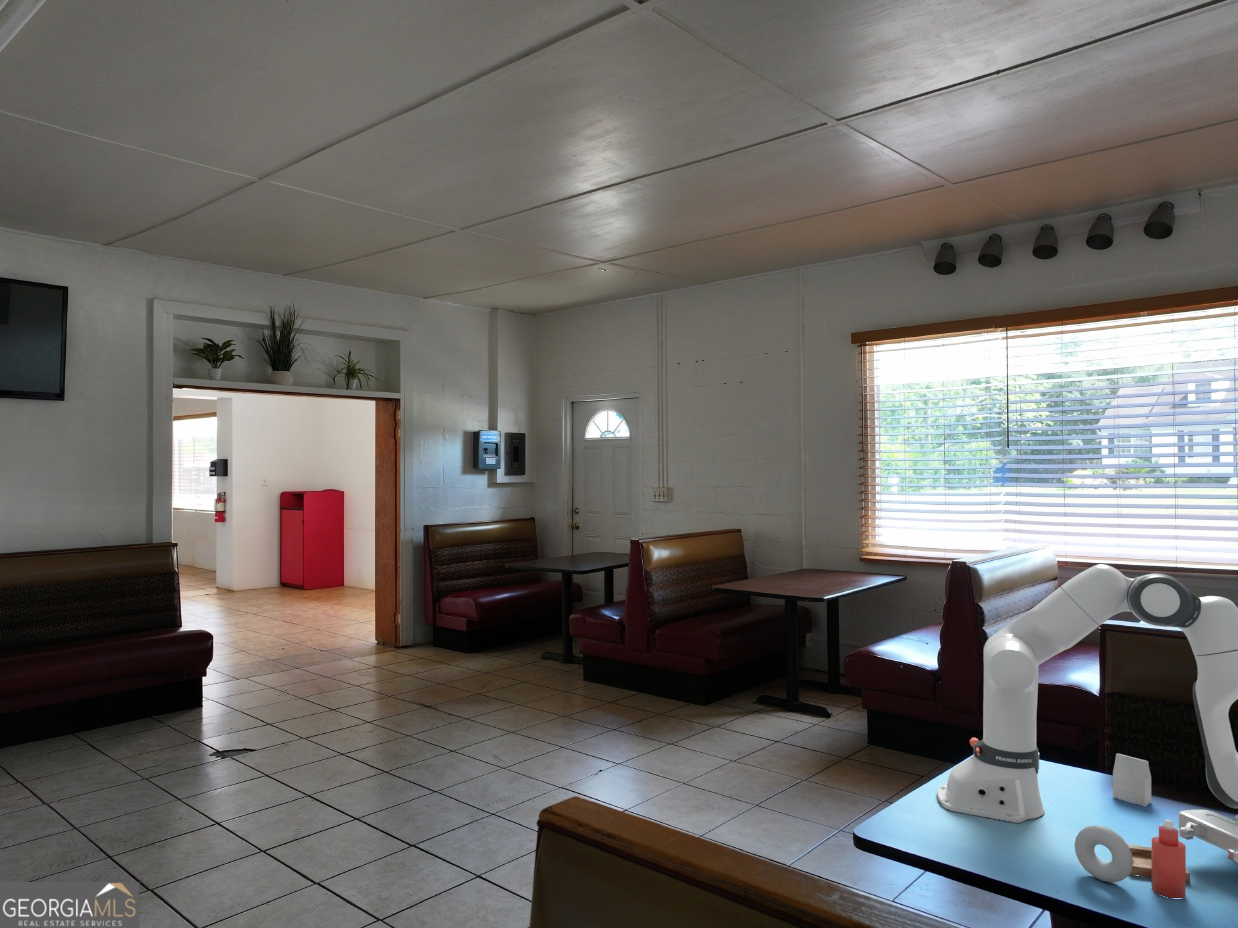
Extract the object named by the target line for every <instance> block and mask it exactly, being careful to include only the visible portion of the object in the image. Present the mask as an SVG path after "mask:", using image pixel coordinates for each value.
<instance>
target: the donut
mask: <svg viewBox="0 0 1238 928" xmlns="http://www.w3.org/2000/svg"><path fill="white" fill-rule="evenodd" d="M1098 845H1101V846H1103V847H1105V848H1107V849H1108V851H1109V852H1110V854H1111V861H1109V862H1104V861H1103V860H1102V859H1100V858H1099V857H1098V855H1097V854H1096V852H1095V848H1096V846H1098ZM1128 845H1129V844H1128V843H1127V841H1125V840H1124V838H1123V837H1122V836H1121V835H1120V834H1118V833H1117V832H1116V831H1115V830H1112V829H1111V828H1109V827H1106V826H1102V825H1097V824H1095V825H1088V826H1085V827H1083V828H1082V829H1081V830H1080V831H1079V832H1078V834H1077V835H1076V837H1075V840H1074V851H1075V855H1076V858H1077V860H1078V863H1080V865H1081V866H1082V867H1083V869H1084V870H1085V871H1086V872H1087V873H1088V874H1090V875H1091V876H1092V877H1094V878H1096V879H1098V880H1100V881H1102V882H1106V883H1111V884H1112V883H1118V882H1122V881H1123V880H1125V879H1127V878H1128V876H1130V875H1129V874H1130V872H1131V871H1132V867H1133V857H1132V853H1131V851H1130V849H1129V846H1128Z"/></svg>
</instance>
